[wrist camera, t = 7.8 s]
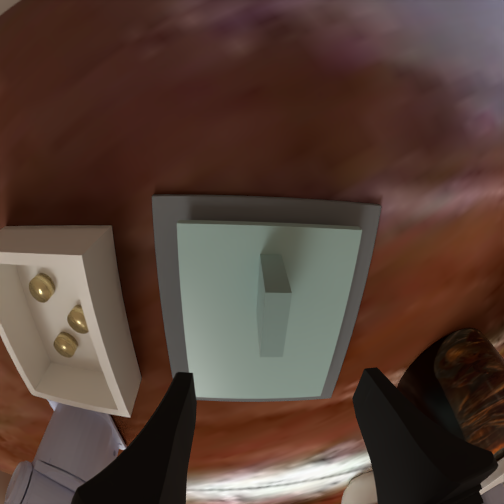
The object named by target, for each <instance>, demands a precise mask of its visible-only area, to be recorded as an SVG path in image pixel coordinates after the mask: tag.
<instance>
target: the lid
mask: <svg viewBox="0 0 504 504" xmlns="http://www.w3.org/2000/svg"><path fill="white" fill-rule="evenodd" d="M361 234H362V229H361V228H360V227H358V226H340V225H321V224H300V223H276V222H247V221H211V220H178V222H177V241H178V259H179V275H180V288H181V301H182V312H183V323H184V333H185V342H186V351H187V360H188V368H189V373H193V377H194V386H195V394H196V397H206V398H235V399H269V398H298V397H315V396H321V393H322V390H323V387H324V384H325V381H326V377H327V374H328V371H329V367H330V364H331V361H332V357H333V354H334V350H335V347H336V343H337V340H338V336H339V332H340V328H341V325H342V321H343V317H344V313H345V309H346V305H347V301H348V296H349V292H350V288H351V283H352V279H353V274H354V270H355V265H356V260H357V255H358V250H359V245H360V240H361Z"/></svg>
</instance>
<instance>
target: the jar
mask: <svg viewBox="0 0 504 504" xmlns="http://www.w3.org/2000/svg"><path fill="white" fill-rule="evenodd" d="M397 389H398V390H399V391H400V392H401V393H402V394H403V395H404V396H405V397H406V398H407V399H408V400H409V401H410V402H411V403H412V404H413V405H414V406H415V407H417V408H418V409H419V410H420V411H421V412H422V413H423V414H425V415H426V416H427V417H428V418H429V419H431V420H432V421H434V422H435V423H436V424H438V425H439V426H440V427H442V428H443V429H445V430H446V431H448V432H450V433H451V434H453V435H455V436H456V437H458V438H460V439H462V440H464V441H466V442H468V443H470V444H472V445H475V446H477V447H480V448H483V449H486V450H488V451H491V452H492V453H493V455H494V457H495V459H496V461H497V463H498V468H497V469H496V470H495V471H494V472H493V473H492V474H491V475H490V476H489V477H488V478H486V479H485V480H484V481H483V482H481V483H480V484H481V486H482V490H480V491H479V492H480V494H481V495H482V494H483V493H485V492H486V491H488V490H490V489H491V488H493V487H495V486H496V485H498V484H500V483H502V482H504V359H503V357H502V356H501V355H500V354H499V352H498V351H497V350H496V349H495V348H494V346H493V345H492V344H491V343H490V342H489V340H488V339H487V338H486V337H485V336H484V335H483V334H482V333H481V332H480V331H479V330H477V329H473V328H467V329H462V330H459V331H456V332H454V333H452V334H450V335H448V336H446V337H444V338H443V339H441V340H439V341H438V342H436V343H435V344H434V345H432V346H431V347H430V348H429V349H427V350H426V351H425V352H424V353H423V354H422V355H421V356H420V357H418V358H417V359H416V361H415V362H414V363H413V364H412V365H411V366H410V367H409V368H408V370H407V371H406V372H405V374H404V375H403V377H402V379H401V380H400V382H399V384H398V387H397Z"/></svg>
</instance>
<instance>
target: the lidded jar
mask: <svg viewBox="0 0 504 504" xmlns="http://www.w3.org/2000/svg"><path fill="white" fill-rule="evenodd" d="M342 504H378V502H377V493H376V486H375V479H374V474H373V471H371V472H367V473H364V474H362V475H359V476H357V477H355V478H354V479H352V480H351V481H350V483H349V486H348V487H347V488H346V490H345V491H344V494H343V497H342Z"/></svg>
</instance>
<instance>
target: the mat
mask: <svg viewBox="0 0 504 504" xmlns="http://www.w3.org/2000/svg"><path fill="white" fill-rule="evenodd" d="M152 210H153V226H154V239H155V251H156V262H157V272H158V281H159V290H160V299H161V307H162V314H163V321H164V328H165V335H166V342H167V348H168V354H169V360H170V366H171V371H172V377H173V379H174V376H175V374H176V373H177V372H189V368H188V360H187V351H186V342H185V333H184V323H183V312H182V301H181V288H180V275H179V259H178V241H177V222H178V220H211V221H247V222H276V223H300V224H321V225H340V226H358V227H360V228H361V229H362V234H361V240H360V245H359V250H358V255H357V260H356V265H355V270H354V274H353V279H352V283H351V288H350V292H349V296H348V301H347V305H346V309H345V313H344V317H343V321H342V325H341V328H340V332H339V336H338V340H337V343H336V347H335V350H334V354H333V357H332V361H331V364H330V367H329V371H328V374H327V377H326V381H325V384H324V387H323V390H322V393H321V396H315V397H298V398H269V399H235V398H206V397H196V400H208V401H241V402H262V401H295V400H312V399H325V398H331V396H332V393H333V390H334V387H335V384H336V381H337V379H338V376H339V373H340V370H341V367H342V364H343V361H344V357H345V354H346V351H347V348H348V345H349V341H350V338H351V335H352V331H353V328H354V324H355V321H356V317H357V314H358V310H359V306H360V303H361V299H362V295H363V291H364V287H365V283H366V279H367V275H368V270H369V266H370V262H371V257H372V253H373V248H374V243H375V238H376V233H377V228H378V223H379V217H380V212H381V205H379V204H371V203H359V202H347V201H334V200H319V199H303V198H285V197H264V196H236V195H175V194H162V195H153V196H152Z"/></svg>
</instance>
